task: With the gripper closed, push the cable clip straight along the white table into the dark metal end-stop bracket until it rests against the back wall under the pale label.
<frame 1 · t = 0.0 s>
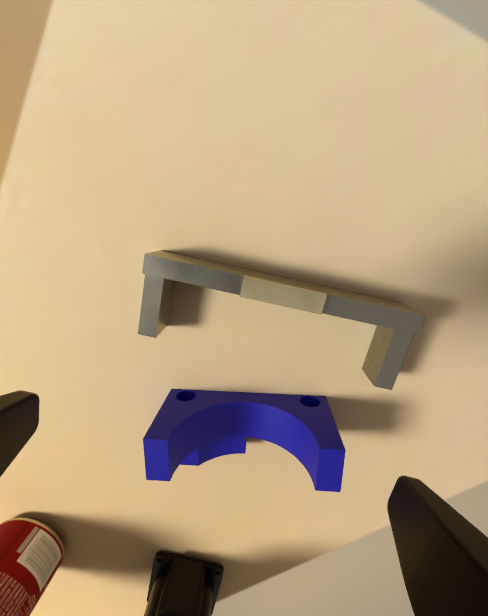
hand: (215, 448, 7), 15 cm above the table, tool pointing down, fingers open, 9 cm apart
cable clip: (246, 414, 24), on the table
stop bracket: (272, 313, 22), on the table
soda can: (36, 536, 29), on the table
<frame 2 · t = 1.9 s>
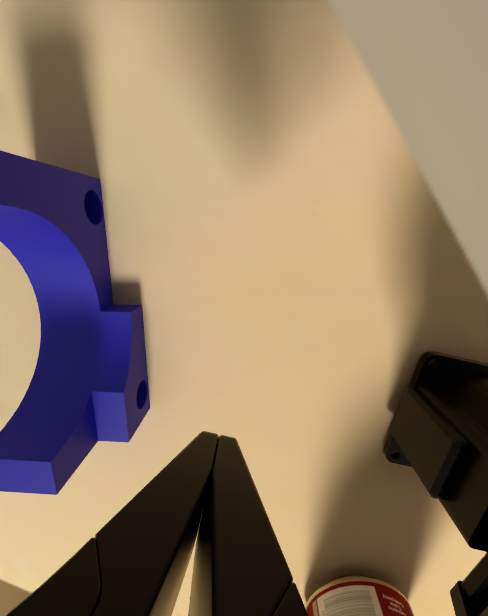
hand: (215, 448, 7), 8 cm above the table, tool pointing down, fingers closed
cable clip: (103, 302, 16), on the table
soda can: (352, 598, 20), on the table
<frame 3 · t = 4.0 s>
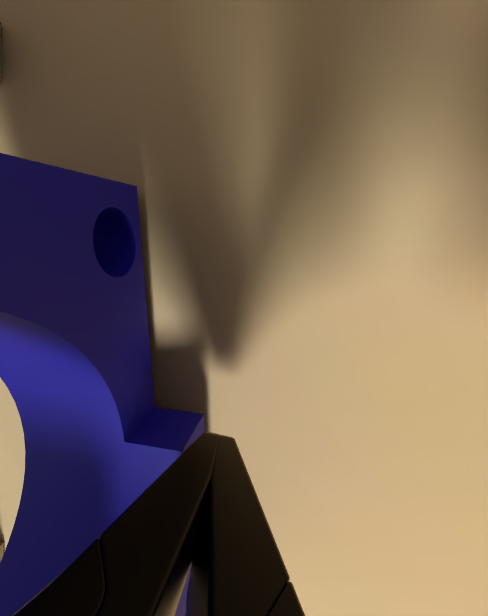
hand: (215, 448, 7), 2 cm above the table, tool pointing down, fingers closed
cable clip: (135, 400, 9), on the table, touching gripper
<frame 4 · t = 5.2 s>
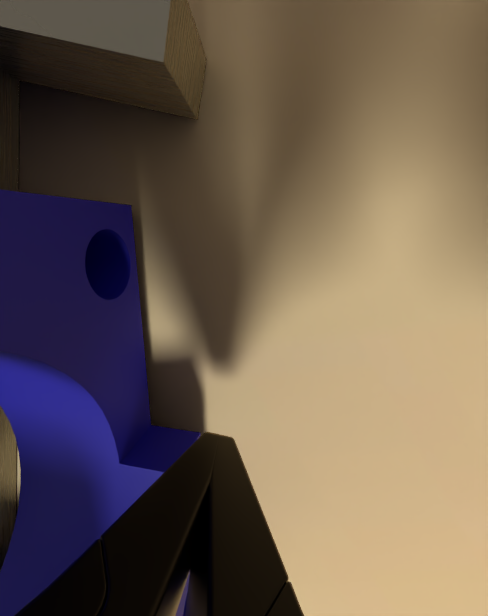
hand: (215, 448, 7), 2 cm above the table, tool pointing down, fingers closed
cable clip: (131, 417, 9), on the table, touching gripper
stop bracket: (66, 377, 9), on the table
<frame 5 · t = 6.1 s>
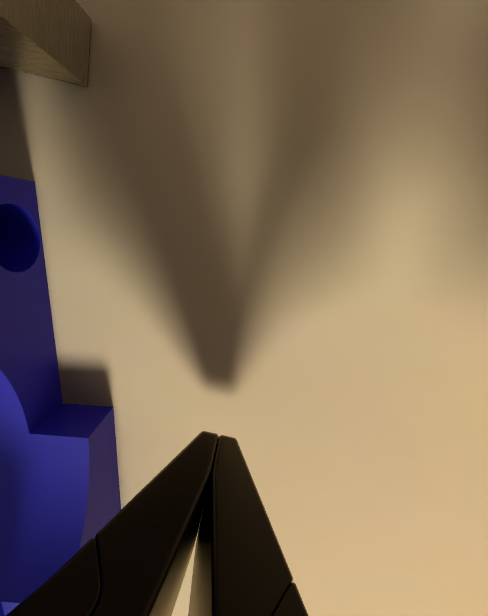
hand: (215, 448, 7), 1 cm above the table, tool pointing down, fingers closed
cable clip: (46, 394, 9), on the table
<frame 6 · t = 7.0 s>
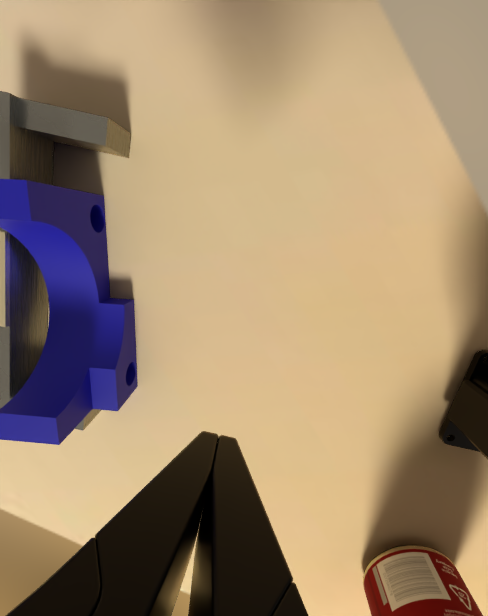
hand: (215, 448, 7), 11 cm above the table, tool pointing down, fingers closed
cable clip: (101, 295, 19), on the table
stop bracket: (73, 277, 18), on the table
soda can: (404, 567, 23), on the table
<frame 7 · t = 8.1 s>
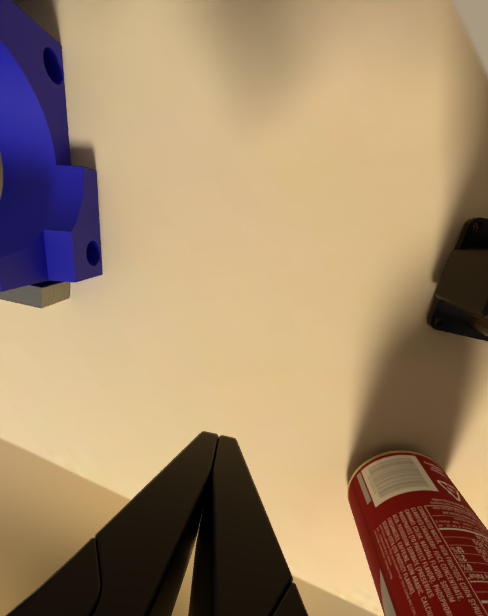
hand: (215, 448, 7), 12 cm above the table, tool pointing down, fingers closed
cable clip: (62, 169, 18), on the table
stop bracket: (30, 144, 17), on the table
soda can: (391, 480, 22), on the table
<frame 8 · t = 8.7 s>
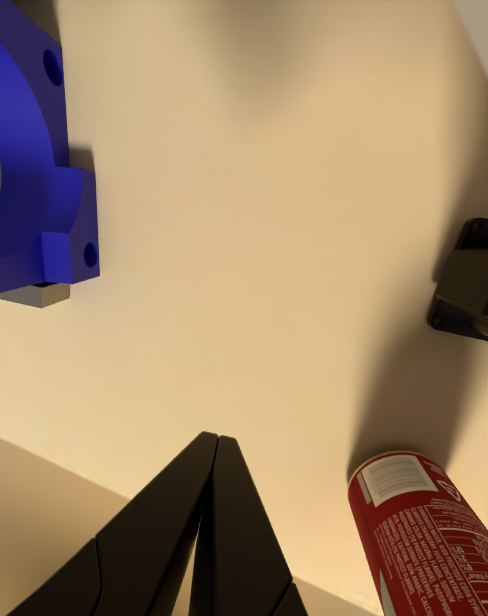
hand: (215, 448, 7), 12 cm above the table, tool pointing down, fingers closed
cable clip: (61, 171, 18), on the table
stop bracket: (30, 144, 17), on the table
soda can: (391, 480, 22), on the table
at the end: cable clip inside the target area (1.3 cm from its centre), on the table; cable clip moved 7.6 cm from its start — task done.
